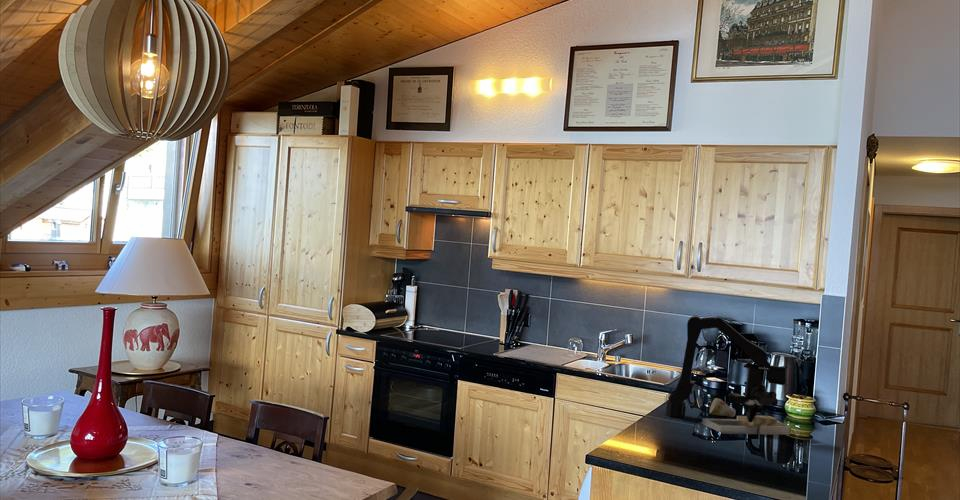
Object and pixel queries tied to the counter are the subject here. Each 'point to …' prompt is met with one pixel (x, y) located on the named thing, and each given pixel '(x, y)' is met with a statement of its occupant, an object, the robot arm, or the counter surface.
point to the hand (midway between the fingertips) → (750, 422)
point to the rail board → (745, 427)
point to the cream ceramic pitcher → (721, 408)
